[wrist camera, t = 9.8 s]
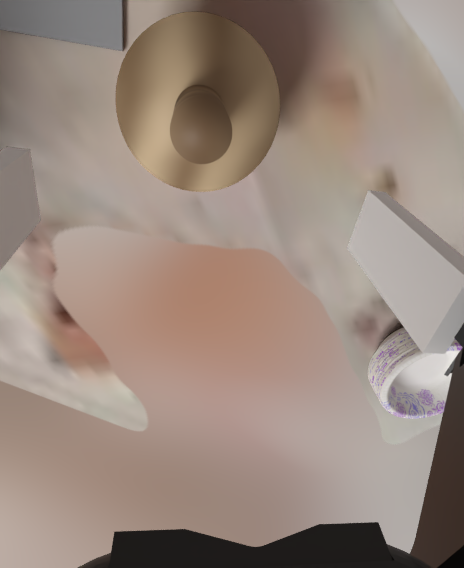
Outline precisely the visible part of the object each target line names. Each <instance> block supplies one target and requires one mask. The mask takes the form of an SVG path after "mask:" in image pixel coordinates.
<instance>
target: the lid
mask: <svg viewBox="0 0 464 568" xmlns="http://www.w3.org/2000/svg"><path fill="white" fill-rule="evenodd" d="M116 112H117V117H118V122H119V126H120V129H121V132H122V135H123V137H124V139H125V141H126V143H127V145H128V147H129V149H130V150H131V152H132V154H133V155H134V156H135V158H136V159H137V160H138V161H139V163H140V164H141V165H142V166H143V167H144V168H145V169H146V170H147V171H148V172H150V173H151V174H152V175H153V176H155V177H156V178H158V179H159V180H161V181H163V182H164V183H166V184H169V185H171V186H173V187H176V188H179V189H182V190H188V191H196V192H206V191H214V190H219V189H223V188H226V187H229V186H231V185H233V184H235V183H237V182H239V181H240V180H242V179H243V178H245V177H246V176H247V175H249V174H250V173H251V172H252V171H253V170H254V169H255V168H256V167H257V166H258V165H259V164H260V163H261V161H262V160H263V159H264V157H265V156H266V154H267V152H268V151H269V149H270V147H271V145H272V142H273V140H274V138H275V135H276V131H277V127H278V122H279V116H280V95H279V88H278V83H277V78H276V75H275V73H274V70H273V67H272V65H271V63H270V61H269V59H268V57H267V55H266V53H265V52H264V50H263V49H262V47H261V46H260V45H259V44H258V42H257V41H256V40H255V39H254V38H253V37H252V36H251V35H250V34H249V33H248V32H247V31H246V30H245V29H243V28H242V27H240V26H239V25H237V24H236V23H234V22H233V21H231V20H228V19H226V18H224V17H222V16H219V15H215V14H212V13H206V12H183V13H178V14H174V15H171V16H168V17H166V18H163V19H161V20H159V21H158V22H156V23H154V24H153V25H151V26H150V27H149V28H148V29H146V30H145V31H144V32H143V33H142V34H141V35H140V36H139V37H138V38H137V39H136V40H135V42H134V43H133V44H132V46H131V47H130V49H129V50H128V52H127V54H126V56H125V58H124V60H123V62H122V65H121V68H120V71H119V75H118V80H117V85H116Z"/></svg>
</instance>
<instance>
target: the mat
mask: <svg viewBox="0 0 464 568" xmlns="http://www.w3.org/2000/svg"><path fill="white" fill-rule="evenodd" d="M0 30H5V31H11V32H17V33H22V34H28V35H34V36H39V37H45V38H51V39H56V40H62V41H68V42H73V43H79V44H85V45H90V46H96V47H102V48H107V49H113V50H119V51H123V0H0Z"/></svg>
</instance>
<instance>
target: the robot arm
mask: <svg viewBox="0 0 464 568" xmlns="http://www.w3.org/2000/svg"><path fill="white" fill-rule="evenodd" d="M40 221H41V217H40V210H39V204H38V198H37V191H36V185H35V178H34V172H33V166H32V159H31V153H30V149H22V148H13V147H6V148H4V149H2V150H1V151H0V270H1V269H2V268H3V266H4V265H5V264H6V263H7V261H8V260H9V259H10V258H11V256H12V255H13V254H14V253H15V252H16V250H17V249H18V248H19V247H20V245H21V244H22V243H23V242H24V240H25V239H26V238H27V237H28V235H29V234H30V233H31V232H32V231H33V229H34V228H35V227H36V226H37V224H38V223H39V222H40ZM347 249H348V250H349V252H350V253H351V254H352V256H353V257H354V259H355V260H356V261H357V263H358V264H359V266H360V267H361V268H362V270H363V271H364V272H365V274H366V275H367V277H368V278H369V279H370V281H371V282H372V284H373V285H374V286H375V288H376V289H377V290H378V292H379V293H380V295H381V296H382V297H383V299H384V300H385V302H386V303H387V304H388V306H389V307H390V309H391V310H392V311H393V313H394V314H395V315H396V317H397V318H398V320H399V321H400V322H401V324H402V325H403V327H404V328H405V329H406V331H407V332H408V333H409V335H410V336H411V338H412V339H413V340H414V342H415V343H416V345H417V346H418V347H419V349H420V350H421V352H422V353H434V354H445V353H446V351H447V350H448V348H449V347H450V345H451V344H452V342H453V341H454V339H456V340H457V342H458V343H459V344H460V345H461V346H462V347H463V348H462V349H461V350H460V352H459V353H458V355H457V356H456V358H455V359H454V361H453V362H452V363H451V365H450V366H449V368H448V369H447V371H446V372H445V374H444V375H446V376H448V375H449V374H450V373H452V376H451V381H450V385H449V390H448V394H447V399H446V403H445V408H444V412H443V417H442V421H441V426H440V431H439V435H438V439H437V444H436V448H435V453H434V457H433V462H432V466H431V471H430V475H429V479H428V484H427V489H426V493H425V497H424V502H423V507H422V512H421V516H420V520H419V525H418V529H417V533H416V538H415V542H414V545H413V547H412V550H411V552H410V554H408V553H407V552H405V551H402V550H400V549H397V548H395V547H392V546H390V545H387V544H386V541H385V539H384V537H383V534H382V531H381V528H380V526H379V523H377V522H375V523H348V524H319V525H316V526H314V527H311V528H309V529H306V530H303V531H301V532H298V533H296V534H293V535H290V536H288V537H285V538H283V539H280V540H277V541H275V542H272V543H269V544H267V545H264V546H261V547H251V546H246V545H243V544H239V543H235V542H231V541H228V540H223V539H220V538H216V537H212V536H209V535H205V534H201V533H197V532H193V531H189V530H186V529H178V530H150V531H123V532H114V538H113V545H112V551H111V553H109V554H107V555H104V556H101V557H98V558H96V559H94V560H92V561H90V562H88V563H86V564H84V565H82V566H80V567H78V568H464V257H463V256H462V255H461V254H460V253H459V252H457V251H456V250H455V249H454V248H452V247H451V246H450V245H449V244H448V243H446V242H445V241H444V240H443V239H442V238H440V237H439V236H438V235H437V234H435V233H434V232H433V231H432V230H431V229H429V228H428V227H427V226H426V225H424V224H423V223H422V222H421V221H420V220H418V219H417V218H416V217H415V216H414V215H412V214H411V213H410V212H409V211H407V210H406V209H405V208H404V207H403V206H401V205H400V204H399V203H398V202H397V201H395V200H394V199H393V198H392V197H390V196H389V195H388V194H387V193H386V192H379V191H371V190H368V193H367V195H366V198H365V201H364V204H363V206H362V209H361V212H360V214H359V217H358V220H357V223H356V225H355V228H354V231H353V233H352V236H351V239H350V242H349V244H348V247H347Z"/></svg>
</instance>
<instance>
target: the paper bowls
mask: <svg viewBox="0 0 464 568" xmlns="http://www.w3.org/2000/svg"><path fill="white" fill-rule="evenodd" d="M462 348H463V347H462V346H461V345H460V344H459V343H458V342H457V340H456V339H454V341H453V342H452V344H451V345H450V347H449V348H448V350H447V351H446V353H445V354H434V353H422V352H421V350H420V349H419V347H418V346H417V345H416V343H415V342H414V340H413V339H412V338H411V336H410V335H409V333H408V332H407V331H406V329H405V328H404V327H403V328H401V329H399V330H397V331H395V332H393V333H392V334H390V335H389V336H388V337H387V338H386V339H385V340H384V341H383V342H382V343H381V345H380V346H379V348H378V350H377V351H376V352H375V354H374V355H373V357H372V359H371V361H370V364H369V367H368V378H369V381H370V383H371V386H372V387H373V389H374V392H375V393H376V395H377V397H378V398H379V400H380V403H381V404H382V406H383V407H384V408H385V409H386V410H387V411H388V412H389V413H391V414H393V415H395V416H398V417H402V418H425V417H430V416H434V415H437V414H440V413H443V412H444V408H445V403H446V399H447V394H448V390H449V385H450V381H451V376H452V373H450V374H449V375H448V376H446V375H444V374H445V372H446V371H447V369H448V368H449V366H450V365H451V363H452V362H453V361H454V359H455V358H456V356H457V355H458V353H459V352H460V350H461V349H462Z"/></svg>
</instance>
